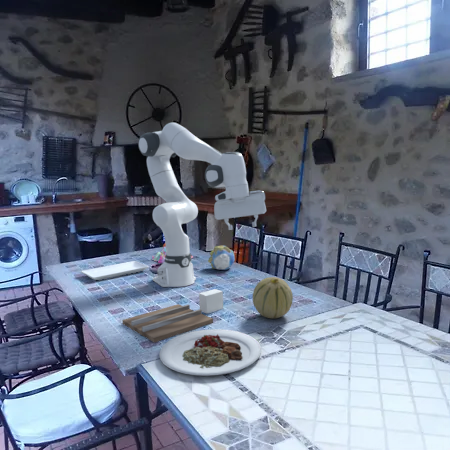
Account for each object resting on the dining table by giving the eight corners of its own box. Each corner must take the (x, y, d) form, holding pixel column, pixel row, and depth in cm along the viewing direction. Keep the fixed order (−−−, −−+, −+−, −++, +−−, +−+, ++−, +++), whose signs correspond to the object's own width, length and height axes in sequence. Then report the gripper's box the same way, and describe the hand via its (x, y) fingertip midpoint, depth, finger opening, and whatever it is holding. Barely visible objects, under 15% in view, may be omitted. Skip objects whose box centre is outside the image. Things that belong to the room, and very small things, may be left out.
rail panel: (122, 324, 151) (122, 316, 151) (178, 307, 166) (178, 300, 166) (154, 342, 134) (153, 333, 134) (213, 322, 150) (212, 314, 149)
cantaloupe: (270, 307, 164) (269, 269, 161) (301, 316, 153) (301, 276, 151) (244, 317, 153) (243, 277, 151) (275, 327, 143) (275, 285, 141)
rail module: (199, 310, 162) (199, 293, 161) (217, 305, 168) (216, 288, 167) (207, 313, 159) (206, 296, 158) (224, 308, 164) (223, 291, 163)
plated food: (188, 393, 105) (188, 380, 104) (144, 350, 130) (143, 339, 129) (282, 360, 120) (282, 349, 120) (226, 327, 145) (226, 318, 145)
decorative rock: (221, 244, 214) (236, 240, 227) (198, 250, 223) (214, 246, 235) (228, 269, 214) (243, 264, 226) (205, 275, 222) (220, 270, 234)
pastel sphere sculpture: (199, 257, 257) (198, 242, 256) (179, 265, 236) (179, 249, 235) (164, 254, 268) (163, 240, 266) (142, 263, 246) (141, 247, 245)
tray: (150, 272, 225) (149, 265, 224) (93, 284, 206) (92, 277, 205) (135, 266, 238) (135, 260, 238) (80, 277, 219) (80, 270, 218)
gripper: (264, 189, 165) (269, 223, 167) (213, 196, 168) (218, 230, 169) (263, 189, 159) (268, 225, 160) (211, 197, 162) (216, 232, 163)
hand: (242, 228), depth 165 cm, fingers open, 8 cm apart
